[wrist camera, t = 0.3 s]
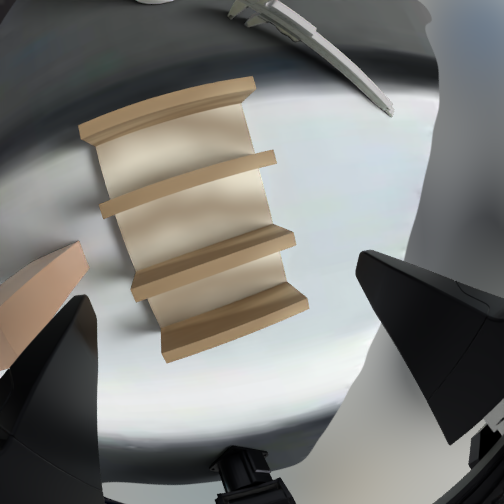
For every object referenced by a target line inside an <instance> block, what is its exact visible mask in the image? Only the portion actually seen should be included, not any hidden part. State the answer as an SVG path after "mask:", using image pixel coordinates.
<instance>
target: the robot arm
mask: <svg viewBox="0 0 504 504" xmlns="http://www.w3.org/2000/svg"><path fill="white" fill-rule="evenodd" d="M355 273H356V277H357V279H358V281H359V283H360V285H361V287H362V289H363V291H364V293H365V295H366V297H367V298H368V300H369V302H370V304H371V306H372V308H373V310H374V312H375V313H376V315H377V317H378V318H379V320H380V321H381V323H382V324H383V326H384V328H385V329H386V331H387V333H388V334H389V336H390V337H391V339H392V341H393V342H394V344H395V346H396V347H397V349H398V351H399V352H400V354H401V355H402V357H403V359H404V361H405V362H406V364H407V366H408V368H409V369H410V371H411V373H412V375H413V377H414V378H415V380H416V382H417V384H418V386H419V387H420V389H421V391H422V393H423V395H424V397H425V398H426V400H427V403H428V404H429V406H430V408H431V410H432V412H433V414H434V416H435V418H436V420H437V422H438V424H439V426H440V428H441V430H442V432H443V434H444V436H445V438H446V440H447V442H448V444H449V445H452V444H453V443H454V442H455V441H457V440H458V439H459V438H460V437H462V436H463V435H464V434H466V433H467V432H468V431H469V430H470V429H472V428H473V427H474V426H475V425H476V424H477V423H478V422H480V421H481V420H482V419H484V420H485V422H486V424H485V425H484V426H483V427H482V428H481V429H480V430H479V431H478V432H477V433H476V434H475V435H474V436H473V437H472V438H471V447H470V456H469V463H468V464H469V467H470V468H471V471H470V472H469V473H467V475H466V476H464V477H463V479H461V480H460V481H459V482H458V483H457V484H456V485H455V486H454V487H452V488H451V489H450V490H449V491H448V492H447V493H445V494H444V495H443V496H442V497H441V498H439V499H438V500H437V501H436V502H434V503H433V504H504V298H501V297H498V296H495V295H492V294H490V293H487V292H484V291H481V290H478V289H476V288H473V287H470V286H468V285H465V284H462V283H460V282H457V281H454V280H452V279H449V278H447V277H444V276H442V275H439V274H437V273H434V272H431V271H429V270H426V269H423V268H421V267H418V266H415V265H413V264H410V263H407V262H405V261H402V260H399V259H396V258H393V257H391V256H388V255H385V254H382V253H379V252H376V251H374V250H366V251H362V252H361V253H360V254H359V258H358V262H357V267H356V271H355ZM97 381H98V348H97V318H96V314H95V312H94V310H93V307H92V305H91V302H90V300H89V298H88V296H87V295H85V294H84V295H76V296H74V297H73V298H72V299H71V300H70V301H69V302H68V303H67V304H66V305H65V306H64V307H63V308H62V309H61V310H60V311H59V312H58V313H57V314H56V315H55V316H54V317H53V318H52V319H51V320H50V321H49V323H48V324H47V325H46V326H45V327H44V328H43V329H42V330H41V331H40V332H39V333H38V335H37V336H36V337H35V338H34V339H33V340H32V341H31V342H30V344H29V345H28V346H27V347H26V348H25V349H24V351H23V352H22V353H21V354H20V355H19V356H18V358H17V359H16V360H15V361H14V362H13V364H12V365H11V366H10V369H8V370H7V371H6V372H5V374H4V375H3V376H2V377H1V379H0V504H105V502H104V496H103V492H102V483H101V474H100V464H99V452H98V434H97ZM267 456H268V452H266V451H260V450H254V449H248V448H243V447H237V446H232V447H230V448H229V449H228V450H227V451H226V452H225V453H224V454H223V455H222V456H221V457H220V458H219V459H218V460H217V461H215V462H214V463H213V464H212V465H211V466H210V467H209V469H210V471H215V472H219V474H220V477H221V480H222V483H223V486H224V489H225V492H226V493H222V494H221V493H220V494H217V496H218V498H217V499H215V502H216V504H296V503H295V501H294V499H293V497H292V495H291V493H290V492H289V491H288V489H287V487H286V486H285V484H284V482H283V481H282V479H281V478H277V479H276V480H272V477H271V476H270V473H271V471H270V469H269V467H268V464H267V462H266V460H265V457H267Z"/></svg>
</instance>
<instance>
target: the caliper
mask: <svg viewBox="0 0 504 504" xmlns="http://www.w3.org/2000/svg"><path fill="white" fill-rule="evenodd" d="M248 7H250V8H252V9H253V10H255V11H256V12H255V13H254V14H253V15H251V16H250V18H248V19H247V21H246V22H245V24H244V25H245V26H247V27H252V26H256V25H260V24H264V23H268V22H270V23H271V24H273V25H275V26H276V28H277V29H278V30H279V31H280V32H281V33H282V34H284V35H286V36H288V37H289V38H290V39H291V40H292V41H293V42H299V41H302V42H303V43H305V44H306V45H307V46H309V47H310V48H311V49H313V50H314V51H315V52H317V53H318V54H319V55H320V56H322V57H323V58H324V59H326V60H327V61H328V62H329V63H330V64H332V65H333V66H334V67H335V68H336V69H338V70H339V71H340V72H341V73H342V74H343V75H345V76H346V77H347V78H348V79H349V80H350V81H351V82H352V83H353V84H354V85H356V86H357V87H358V88H359V89H360V90H361V91H362V92H363V93H364V94H365V95H366V96H367V97H368V98H369V99H370V100H371V101H372V102H373V103H374V104H375V105H377V106H378V107H379V108H380V109H382V110H383V111H385V112H386V113H387V114H388V115H389V116H390V117H393V113H394V109H393V107H392V105H393V103H392V102H391V101H390V100H389V99H388V98H387V97H386V95H385V94H384V93H383V92H382V91H381V90H380V89H379V88H378V87H377V86H376V85H375V84H374V83H373V82H372V81H371V80H370V79H369V78H368V77H367V76H366V75H365V74H364V73H363V72H362V71H361V70H360V69H359V68H358V67H357V66H356V65H355V64H354V63H353V62H352V61H351V60H349V59H348V58H347V57H346V56H345V55H344V54H343V53H342V52H340V51H339V50H338V49H337V48H336V47H335V46H333V45H332V44H331V43H330V42H329V41H327V40H326V39H325V38H324V37H322V36H321V35H320V34H319V33H317V32H316V27H314V26H313V25H312V24H310V23H309V22H308V21H307V20H305V19H304V18H303V17H301V16H300V15H298V14H297V13H296V12H294V11H293V10H291V9H290V8H288V7H287V6H286V5H284V4H283V3H281V2H280V1H278V0H274V1H272V0H235V2H234V4H233V6H232V7H231V9H230V11H229V14H228V18H229V19H233V18H234V17H235V16H236V15H238V14H239V13H241V12H242V11H243V10H245V9H246V8H248Z"/></svg>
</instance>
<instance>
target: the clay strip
mask: <svg viewBox="0 0 504 504" xmlns="http://www.w3.org/2000/svg"><path fill="white" fill-rule="evenodd" d="M88 270H89V265H88V263H87V260H86V258H85V255H84V253H83V250H82V247H81V245H80V242H79V241H78V242H75V243H73V244H71V245H68V246H66V247H64V248H61V249H59V250H57V251H55V252H52V253H50V254H48V255H46V256H43V257H41V258H39V259H37V260H35V261H33V262H31V263H30V264H28V265H27V266H25V267H24V268H23V269H21V270H20V271H18V272H17V273H16V274H14V275H13V276H12V277H10V278H9V279H8V280H6V281H5V282H4V283H2V284H1V285H0V371H1V370H5V369H8V368H10V366H11V365H12V364H13V362H14V361H15V360H16V359H17V358H18V356H19V355H20V354H21V353H22V352H23V351H24V349H25V348H26V347H27V346H28V345H29V344H30V342H31V341H32V340H33V339H34V338H35V337H36V336H37V335H38V333H39V332H40V331H41V330H42V329H43V328H44V327H45V326H46V325H47V324H48V323H49V321H50V320H51V319H52V318H53V316H54V315H55V314H56V312H57V311H58V309H59V308H60V307H61V305H62V304H63V302H64V301H65V300H66V298H67V297H68V296H69V294H70V293H71V292H72V290H73V289H74V288H75V286H76V285H77V284H78V282H79V281H80V280H81V279H82V277H83V276H84V275H85V273H86V272H87V271H88Z"/></svg>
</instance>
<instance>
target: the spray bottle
mask: <svg viewBox="0 0 504 504" xmlns="http://www.w3.org/2000/svg"><path fill="white" fill-rule="evenodd" d="M136 1H138V2H140V3H146V4H162V3H166V2H171V1H174V0H136Z"/></svg>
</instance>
